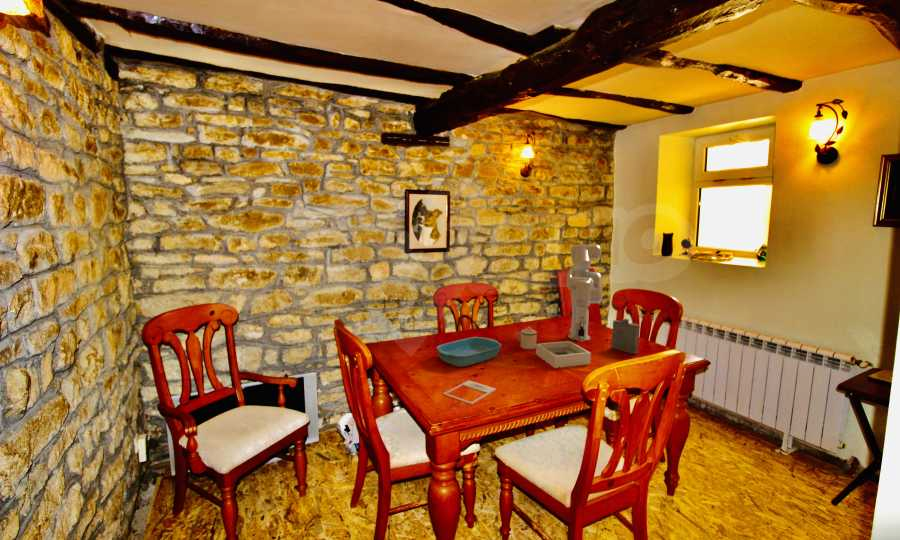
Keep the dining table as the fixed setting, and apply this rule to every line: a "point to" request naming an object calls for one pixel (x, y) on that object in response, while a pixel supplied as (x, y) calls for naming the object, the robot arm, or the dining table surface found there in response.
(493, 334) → the dining table surface
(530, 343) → the teacup with lid
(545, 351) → the open top box
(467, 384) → the photo frame
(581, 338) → the peg
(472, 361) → the casserole dish
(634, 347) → the flask
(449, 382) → the dining table surface
